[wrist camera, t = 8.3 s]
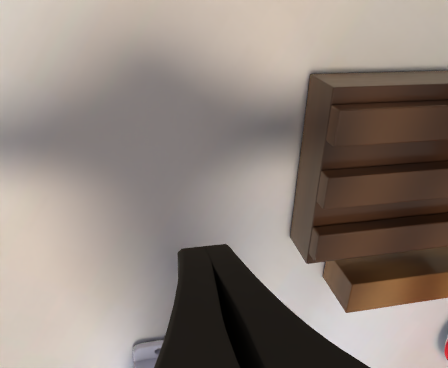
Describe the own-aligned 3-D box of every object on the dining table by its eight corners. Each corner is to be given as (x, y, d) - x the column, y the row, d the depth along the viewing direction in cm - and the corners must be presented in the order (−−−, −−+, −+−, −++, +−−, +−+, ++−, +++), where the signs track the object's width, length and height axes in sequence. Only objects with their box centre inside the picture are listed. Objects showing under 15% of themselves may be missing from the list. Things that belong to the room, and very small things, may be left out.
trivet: (289, 237, 23) (312, 274, 20) (309, 73, 19) (342, 92, 16) (431, 221, 25) (470, 254, 22) (478, 69, 20) (535, 85, 18)
